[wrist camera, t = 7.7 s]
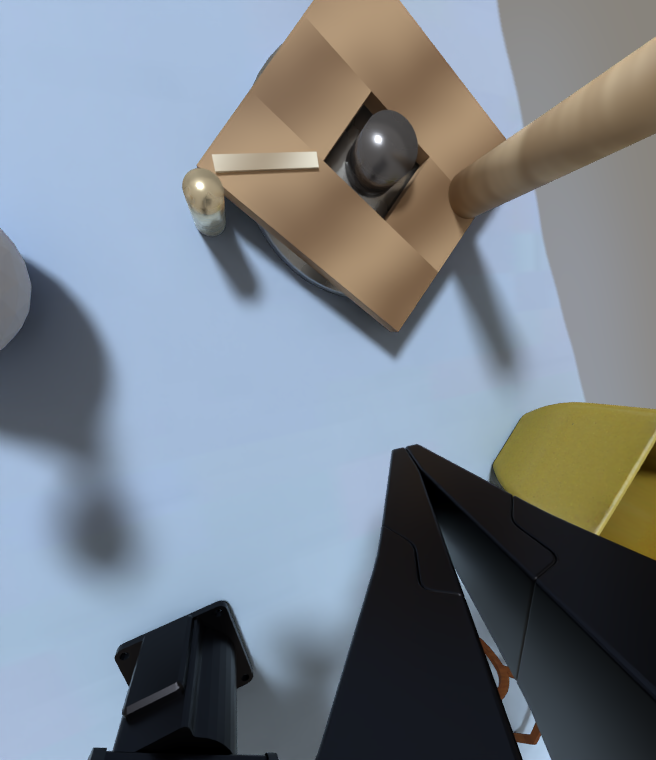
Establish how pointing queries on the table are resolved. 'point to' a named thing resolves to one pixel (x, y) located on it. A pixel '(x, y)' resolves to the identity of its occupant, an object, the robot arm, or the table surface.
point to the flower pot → (588, 469)
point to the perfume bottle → (12, 290)
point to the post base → (347, 159)
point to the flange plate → (435, 148)
